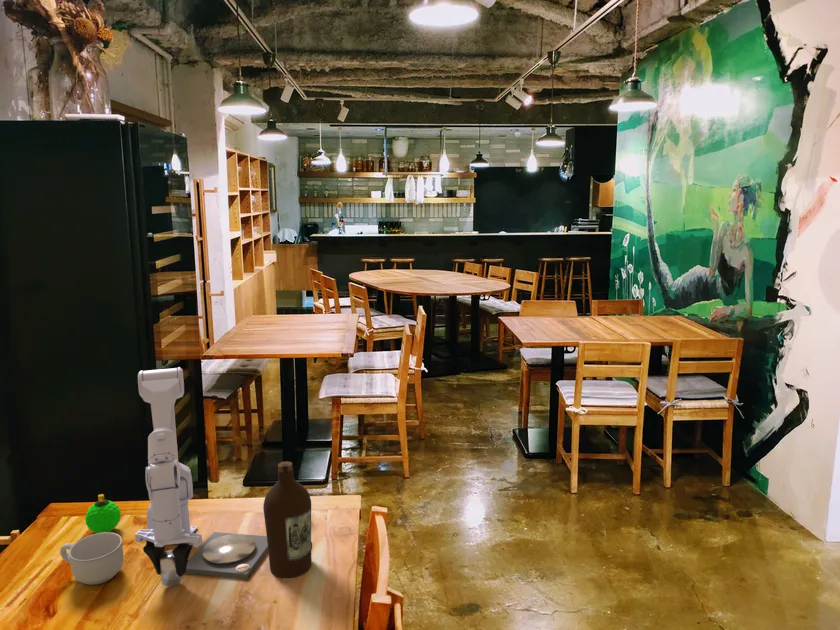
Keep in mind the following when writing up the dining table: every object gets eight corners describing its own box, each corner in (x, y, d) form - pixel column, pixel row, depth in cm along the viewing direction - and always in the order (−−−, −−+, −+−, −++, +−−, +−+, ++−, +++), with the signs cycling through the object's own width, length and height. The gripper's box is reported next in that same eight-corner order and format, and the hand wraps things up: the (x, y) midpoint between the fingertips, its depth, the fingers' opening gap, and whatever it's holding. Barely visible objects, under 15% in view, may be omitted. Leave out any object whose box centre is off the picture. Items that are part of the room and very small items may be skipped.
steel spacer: (157, 585, 138) (155, 559, 137) (168, 573, 142) (166, 548, 141) (176, 587, 137) (174, 561, 136) (186, 575, 142) (184, 550, 141)
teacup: (136, 568, 147) (132, 536, 146) (98, 595, 137) (94, 561, 136) (89, 557, 152) (85, 526, 150) (49, 583, 142) (45, 550, 140)
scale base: (180, 572, 145) (180, 566, 145) (214, 536, 161) (213, 530, 160) (247, 578, 142) (246, 572, 142) (274, 541, 158) (274, 535, 158)
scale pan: (192, 561, 146) (192, 559, 146) (217, 534, 158) (217, 532, 158) (242, 566, 144) (241, 563, 144) (263, 538, 156) (263, 536, 156)
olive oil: (257, 568, 147) (251, 465, 142) (294, 548, 155) (289, 451, 150) (286, 585, 140) (280, 478, 135) (323, 564, 148) (319, 462, 143)
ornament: (108, 521, 169) (104, 485, 167) (129, 528, 165) (125, 491, 163) (79, 535, 162) (75, 498, 160) (101, 543, 158) (97, 505, 156)
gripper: (124, 522, 134) (130, 580, 137) (188, 527, 132) (193, 586, 135) (143, 506, 141) (149, 562, 144) (205, 510, 139) (209, 567, 141)
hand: (171, 573), depth 140 cm, fingers closed on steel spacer, 4 cm apart
